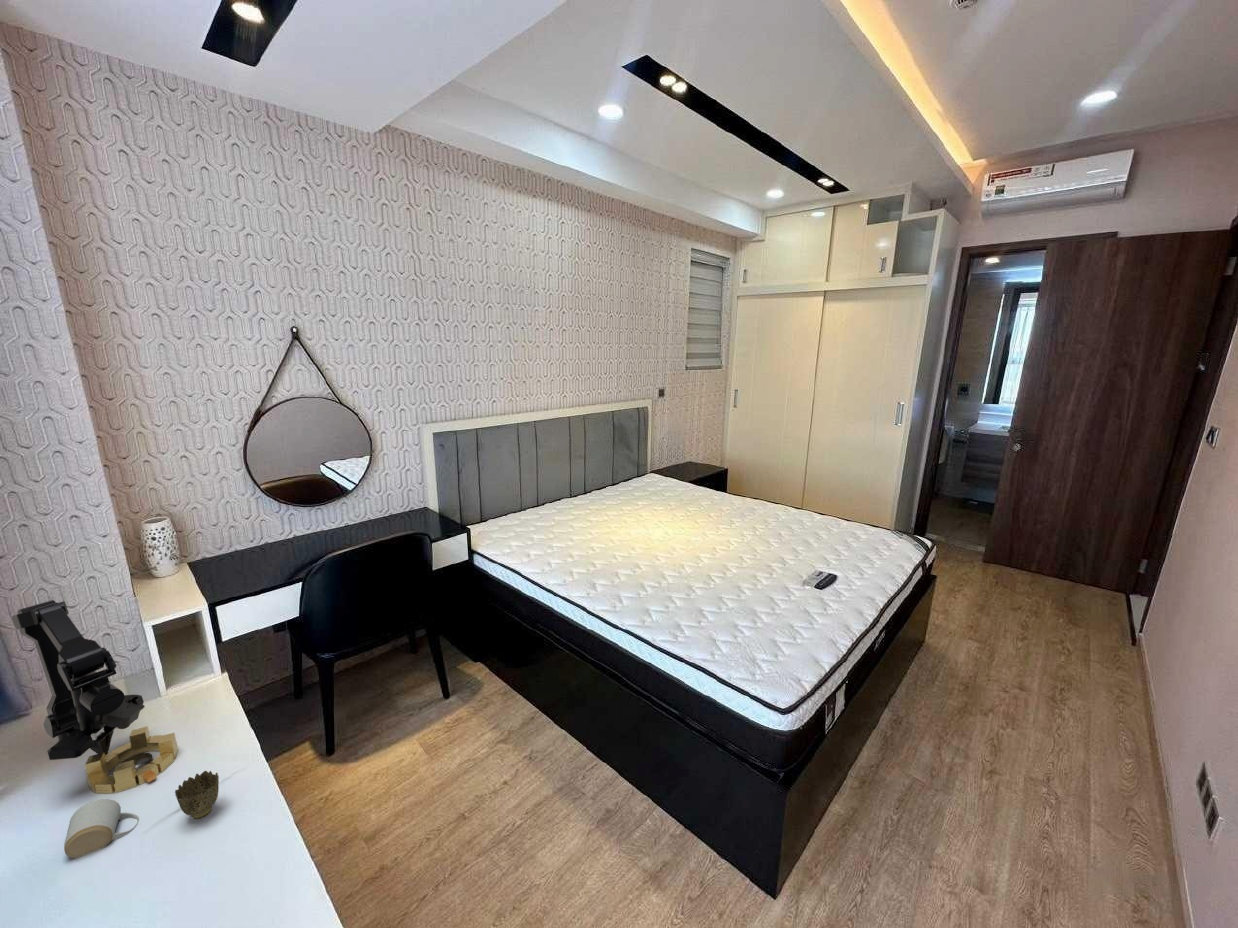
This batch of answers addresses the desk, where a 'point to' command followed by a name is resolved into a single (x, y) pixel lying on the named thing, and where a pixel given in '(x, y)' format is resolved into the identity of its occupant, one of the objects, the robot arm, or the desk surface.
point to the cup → (198, 794)
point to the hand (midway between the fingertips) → (104, 755)
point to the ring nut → (130, 762)
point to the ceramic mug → (94, 827)
